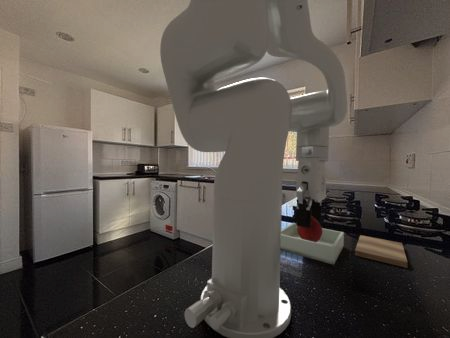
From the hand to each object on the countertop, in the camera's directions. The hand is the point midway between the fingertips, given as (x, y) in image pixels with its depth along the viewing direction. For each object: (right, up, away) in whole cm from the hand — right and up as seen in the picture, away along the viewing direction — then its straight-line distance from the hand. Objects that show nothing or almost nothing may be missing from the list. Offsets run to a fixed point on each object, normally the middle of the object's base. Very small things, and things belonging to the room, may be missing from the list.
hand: (309, 223), depth 50 cm
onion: (0, -6, 0) cm, 6 cm away
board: (+17, -7, -1) cm, 18 cm away
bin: (0, -6, +1) cm, 6 cm away
